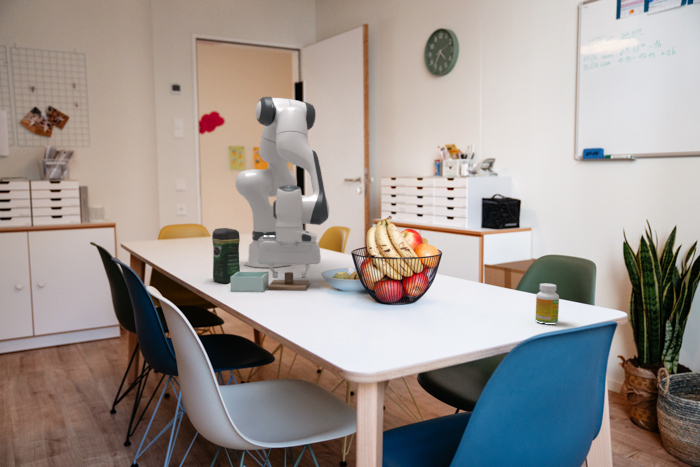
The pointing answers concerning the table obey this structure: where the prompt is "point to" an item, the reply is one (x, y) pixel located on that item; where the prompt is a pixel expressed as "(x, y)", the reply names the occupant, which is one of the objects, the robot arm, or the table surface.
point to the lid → (288, 283)
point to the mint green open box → (249, 281)
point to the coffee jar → (225, 254)
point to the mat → (292, 290)
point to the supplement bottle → (547, 304)
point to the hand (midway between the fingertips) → (289, 277)
